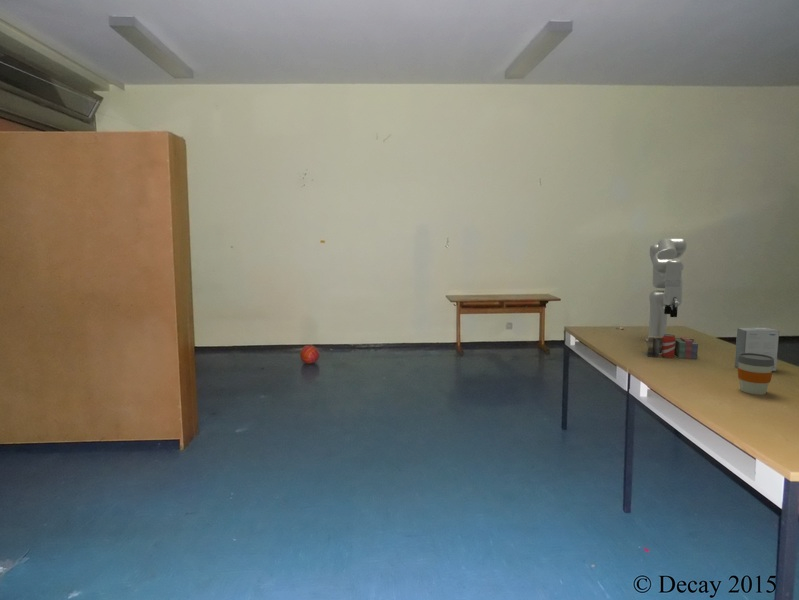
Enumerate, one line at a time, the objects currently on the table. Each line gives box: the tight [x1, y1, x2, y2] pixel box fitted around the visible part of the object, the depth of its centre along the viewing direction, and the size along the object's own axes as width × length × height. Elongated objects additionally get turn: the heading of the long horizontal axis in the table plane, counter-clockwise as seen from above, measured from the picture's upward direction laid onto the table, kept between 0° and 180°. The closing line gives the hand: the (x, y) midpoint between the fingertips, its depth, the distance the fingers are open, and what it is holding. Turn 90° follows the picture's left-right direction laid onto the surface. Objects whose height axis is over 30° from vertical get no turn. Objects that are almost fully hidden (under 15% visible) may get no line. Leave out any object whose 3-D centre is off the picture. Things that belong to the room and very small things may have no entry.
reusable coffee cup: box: [737, 353, 774, 396], centre depth 210 cm, size 13×13×15 cm
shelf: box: [646, 336, 699, 360], centre depth 274 cm, size 11×23×10 cm, turn 78°
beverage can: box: [661, 333, 677, 359], centre depth 270 cm, size 6×6×12 cm
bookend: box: [642, 337, 660, 358], centre depth 275 cm, size 10×6×9 cm, turn 168°
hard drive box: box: [734, 327, 780, 372], centre depth 245 cm, size 16×8×20 cm, turn 84°
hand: (670, 315), depth 269 cm, fingers open, 9 cm apart
